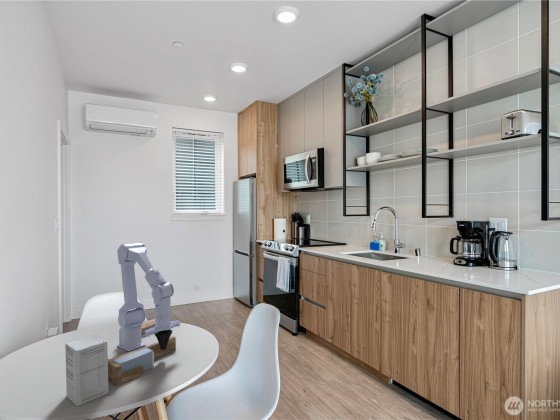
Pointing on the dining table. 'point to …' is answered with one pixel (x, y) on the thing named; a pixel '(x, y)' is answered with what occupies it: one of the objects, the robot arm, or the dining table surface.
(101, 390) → the supplement box
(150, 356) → the boxed book
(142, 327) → the reddish brown block
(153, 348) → the brown wooden rack
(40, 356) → the dining table surface
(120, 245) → the robot arm
